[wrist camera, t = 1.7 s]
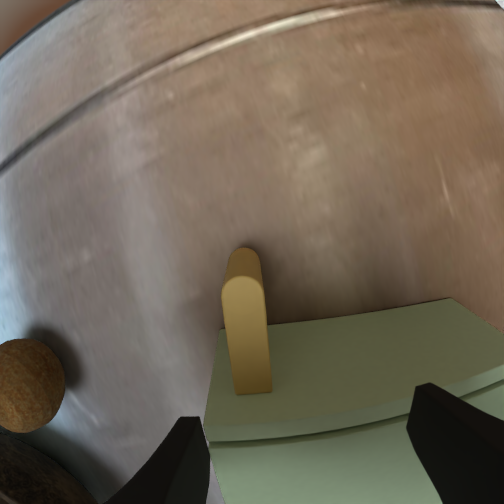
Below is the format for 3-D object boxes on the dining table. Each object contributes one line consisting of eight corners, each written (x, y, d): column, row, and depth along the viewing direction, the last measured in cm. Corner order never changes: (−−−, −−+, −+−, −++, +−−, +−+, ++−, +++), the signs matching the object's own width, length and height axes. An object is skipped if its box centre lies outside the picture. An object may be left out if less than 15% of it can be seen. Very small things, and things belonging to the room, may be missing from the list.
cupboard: (222, 345, 20) (207, 448, 11) (447, 312, 20) (525, 374, 11) (242, 463, 22) (242, 552, 14) (422, 431, 22) (463, 500, 14)
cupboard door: (207, 244, 18) (174, 298, 10) (455, 222, 18) (550, 250, 10) (221, 342, 20) (207, 442, 11) (449, 310, 19) (525, 369, 11)
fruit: (95, 365, 20) (44, 435, 12) (62, 401, 21) (19, 463, 13) (35, 305, 19) (-34, 355, 11) (10, 349, 20) (-45, 398, 12)
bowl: (13, 488, 26) (-12, 531, 16) (-49, 371, 21) (-98, 415, 11) (148, 535, 26) (135, 594, 17) (111, 429, 22) (69, 519, 12)
